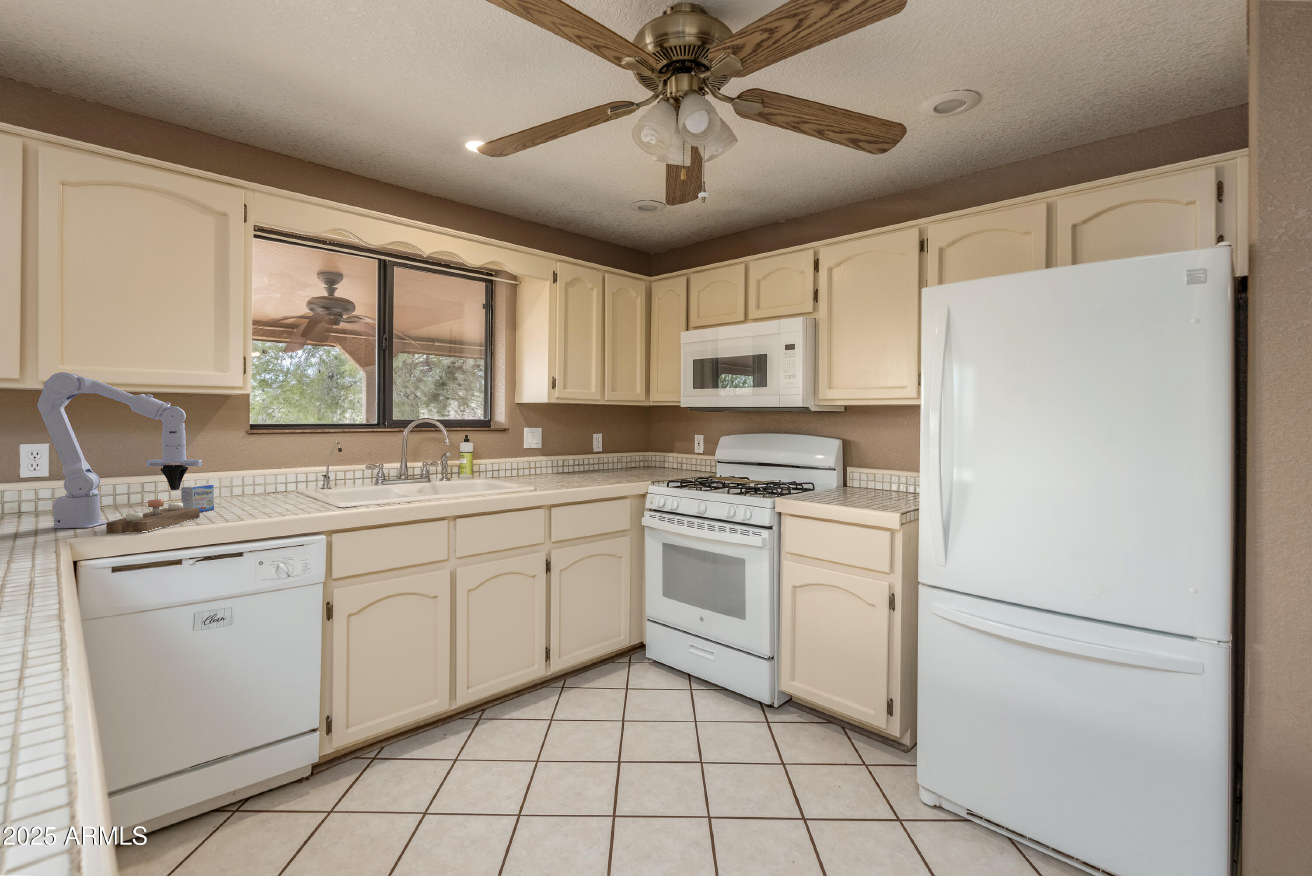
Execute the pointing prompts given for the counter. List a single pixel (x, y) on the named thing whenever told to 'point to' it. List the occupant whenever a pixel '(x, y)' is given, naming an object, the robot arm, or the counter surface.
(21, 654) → the counter surface
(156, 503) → the knob middle
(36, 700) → the counter surface
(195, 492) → the medicine box
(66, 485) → the robot arm
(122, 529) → the rack
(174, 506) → the knob
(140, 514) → the knob
